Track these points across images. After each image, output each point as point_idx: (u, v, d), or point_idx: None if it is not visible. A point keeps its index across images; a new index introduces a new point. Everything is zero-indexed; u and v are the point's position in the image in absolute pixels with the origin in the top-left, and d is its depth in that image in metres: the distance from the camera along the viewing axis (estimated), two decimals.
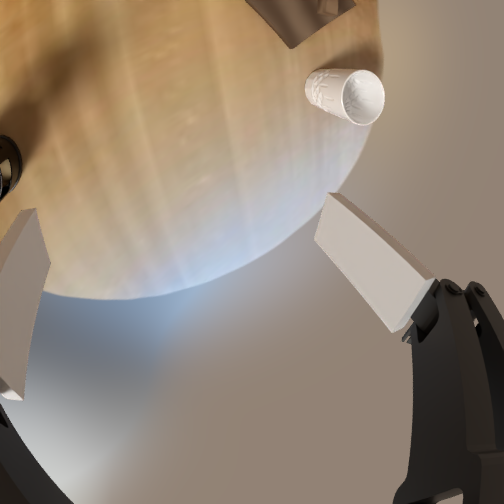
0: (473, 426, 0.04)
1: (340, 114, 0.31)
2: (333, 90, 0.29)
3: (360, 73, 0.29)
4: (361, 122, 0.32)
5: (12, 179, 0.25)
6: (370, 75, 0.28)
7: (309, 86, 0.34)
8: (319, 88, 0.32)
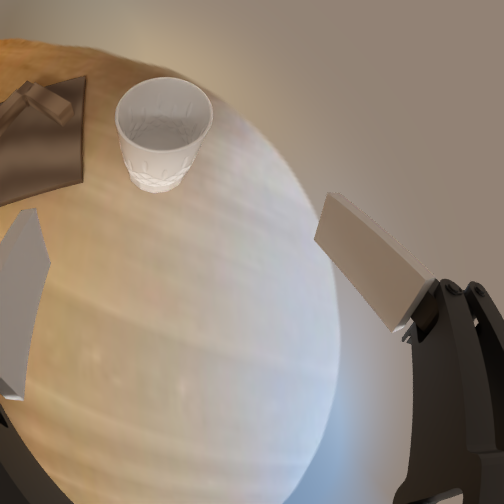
0: (473, 426, 0.04)
1: (174, 160, 0.20)
2: (131, 154, 0.19)
3: (138, 103, 0.20)
4: None
5: None
6: (142, 89, 0.19)
7: (137, 182, 0.25)
8: (135, 172, 0.22)
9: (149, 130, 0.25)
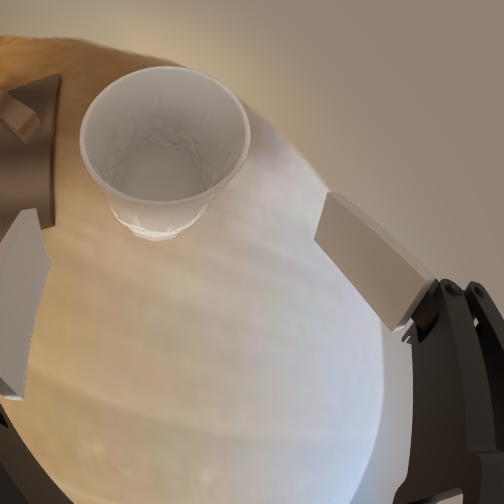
0: (473, 426, 0.04)
1: (186, 212, 0.12)
2: (112, 203, 0.11)
3: (123, 109, 0.12)
4: (235, 162, 0.12)
5: None
6: (128, 86, 0.11)
7: (128, 228, 0.17)
8: None
9: (143, 148, 0.17)
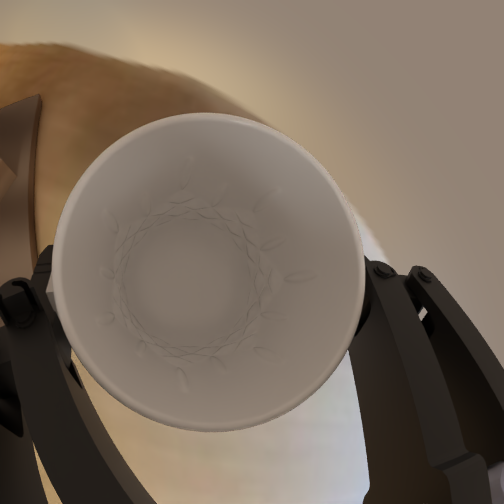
0: (433, 435, 0.04)
1: None
2: None
3: (128, 190, 0.08)
4: (341, 317, 0.07)
5: None
6: (136, 155, 0.06)
7: None
8: None
9: (161, 223, 0.13)
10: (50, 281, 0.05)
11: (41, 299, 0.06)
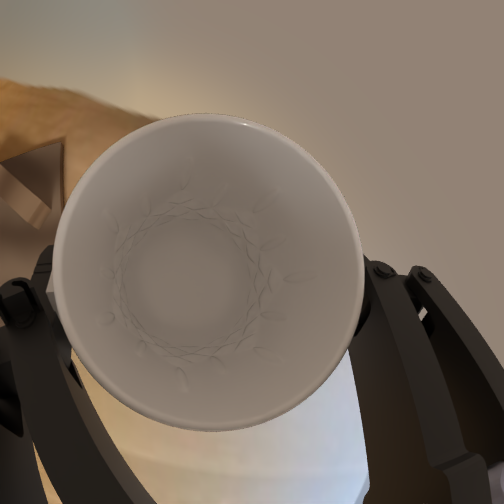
0: (433, 435, 0.04)
1: None
2: None
3: (129, 190, 0.08)
4: (340, 317, 0.07)
5: None
6: (136, 155, 0.06)
7: None
8: None
9: (161, 224, 0.13)
10: (50, 281, 0.05)
11: (41, 299, 0.06)
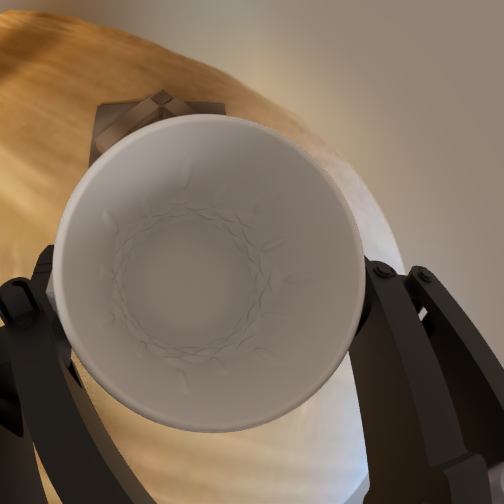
0: (433, 435, 0.04)
1: None
2: None
3: (129, 191, 0.08)
4: (341, 318, 0.07)
5: None
6: (137, 156, 0.06)
7: None
8: None
9: (162, 224, 0.13)
10: (50, 281, 0.05)
11: (41, 299, 0.06)
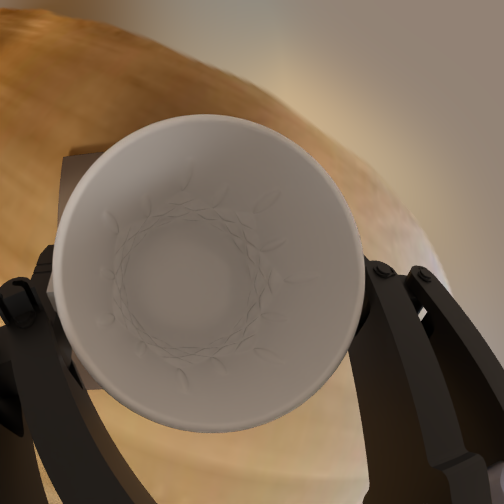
0: (433, 435, 0.04)
1: None
2: None
3: (129, 191, 0.08)
4: (340, 319, 0.07)
5: None
6: (136, 156, 0.06)
7: None
8: None
9: (162, 224, 0.13)
10: (51, 281, 0.05)
11: (41, 299, 0.06)
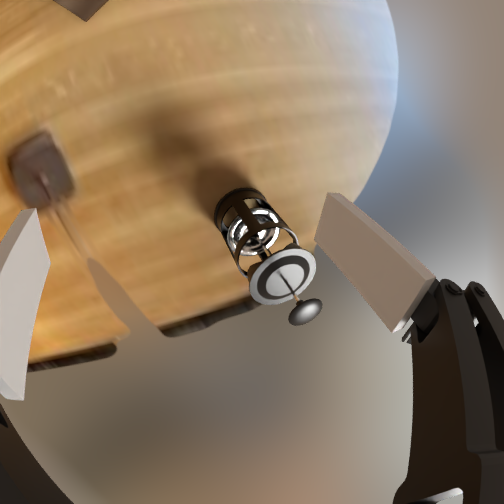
0: (473, 426, 0.04)
1: None
2: None
3: None
4: None
5: (261, 198, 0.42)
6: None
7: None
8: None
9: None
10: None
11: None
